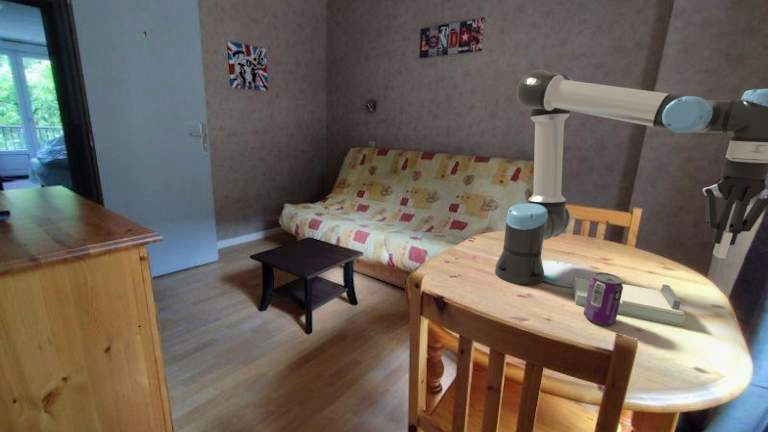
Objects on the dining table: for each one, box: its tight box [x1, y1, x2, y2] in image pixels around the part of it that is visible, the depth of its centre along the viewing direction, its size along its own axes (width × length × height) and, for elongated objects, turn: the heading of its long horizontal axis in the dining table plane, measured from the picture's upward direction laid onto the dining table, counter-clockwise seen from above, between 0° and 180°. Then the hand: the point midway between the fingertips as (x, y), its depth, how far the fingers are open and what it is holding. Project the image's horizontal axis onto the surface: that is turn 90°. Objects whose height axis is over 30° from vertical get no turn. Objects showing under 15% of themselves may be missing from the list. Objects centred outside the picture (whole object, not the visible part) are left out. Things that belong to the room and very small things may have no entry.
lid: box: [621, 283, 685, 315], centre depth 93 cm, size 13×12×3 cm
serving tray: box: [572, 277, 686, 328], centre depth 96 cm, size 24×12×3 cm, turn 65°
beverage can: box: [583, 271, 623, 326], centre depth 87 cm, size 7×7×12 cm
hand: (718, 256), depth 85 cm, fingers closed
